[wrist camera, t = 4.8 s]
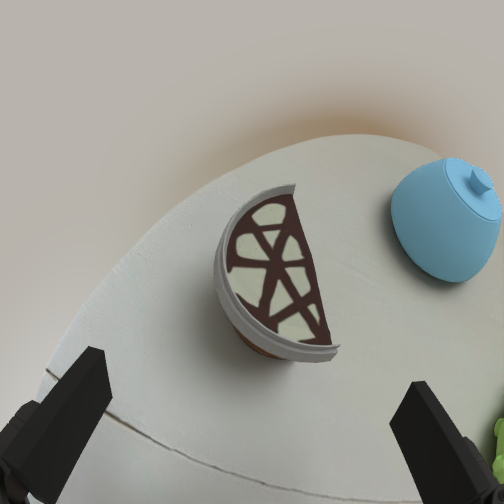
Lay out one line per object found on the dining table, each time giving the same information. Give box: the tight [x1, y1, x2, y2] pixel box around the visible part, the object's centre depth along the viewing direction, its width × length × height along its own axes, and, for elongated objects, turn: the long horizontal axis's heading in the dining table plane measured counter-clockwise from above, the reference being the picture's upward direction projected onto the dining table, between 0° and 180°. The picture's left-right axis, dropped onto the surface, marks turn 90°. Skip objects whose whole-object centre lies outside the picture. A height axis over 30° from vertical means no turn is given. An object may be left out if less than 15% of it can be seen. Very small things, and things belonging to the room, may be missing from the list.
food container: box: [214, 184, 341, 363], centre depth 21 cm, size 12×6×10 cm, turn 9°
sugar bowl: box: [391, 158, 502, 282], centre depth 27 cm, size 15×15×12 cm
